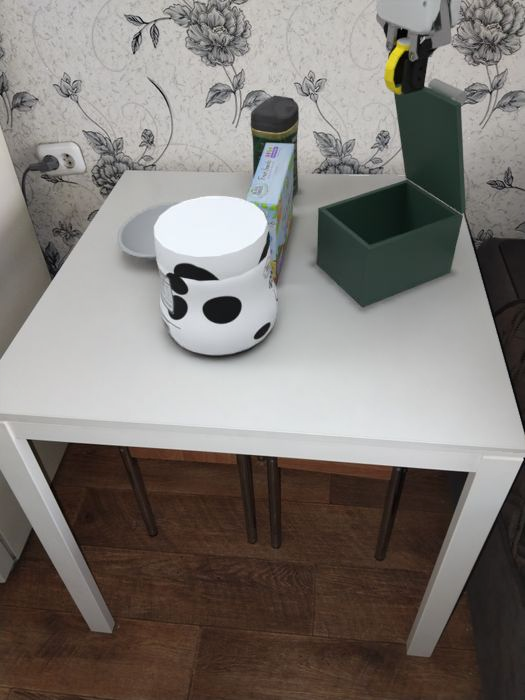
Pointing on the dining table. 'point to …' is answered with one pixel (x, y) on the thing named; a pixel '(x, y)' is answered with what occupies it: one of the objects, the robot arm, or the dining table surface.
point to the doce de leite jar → (215, 274)
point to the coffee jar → (275, 128)
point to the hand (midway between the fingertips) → (404, 86)
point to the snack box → (275, 197)
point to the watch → (400, 48)
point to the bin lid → (434, 140)
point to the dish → (141, 232)
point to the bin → (386, 241)
